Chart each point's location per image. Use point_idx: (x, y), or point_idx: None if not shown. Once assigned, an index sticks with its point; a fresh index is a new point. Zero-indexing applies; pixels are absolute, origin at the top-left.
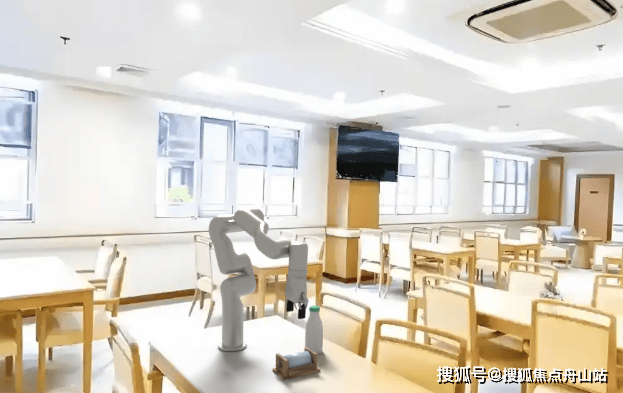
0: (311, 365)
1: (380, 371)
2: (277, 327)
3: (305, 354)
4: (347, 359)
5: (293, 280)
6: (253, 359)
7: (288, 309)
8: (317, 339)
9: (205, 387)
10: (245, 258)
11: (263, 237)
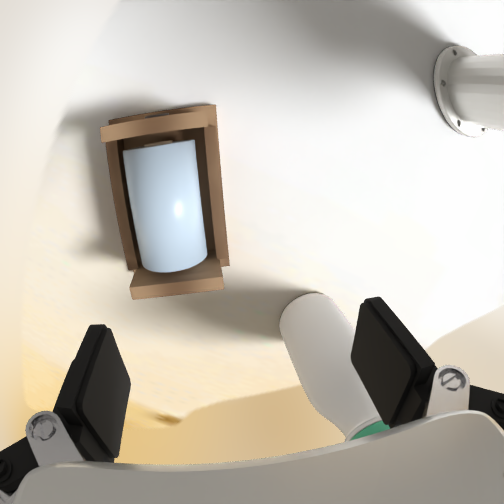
0: (124, 249)
1: None
2: (492, 278)
3: (150, 251)
4: (200, 378)
5: None
6: (352, 87)
7: (368, 326)
8: (293, 354)
9: None
10: None
11: None
